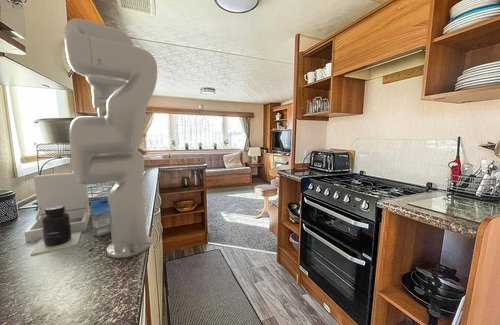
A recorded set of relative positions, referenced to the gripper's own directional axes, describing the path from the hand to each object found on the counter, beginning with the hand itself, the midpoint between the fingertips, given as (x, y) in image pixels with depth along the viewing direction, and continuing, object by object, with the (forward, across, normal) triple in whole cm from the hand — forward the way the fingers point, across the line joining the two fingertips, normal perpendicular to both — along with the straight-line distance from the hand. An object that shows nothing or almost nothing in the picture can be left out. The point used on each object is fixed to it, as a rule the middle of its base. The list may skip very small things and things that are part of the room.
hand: (108, 147), depth 87 cm
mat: (+30, -14, +16) cm, 37 cm away
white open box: (+30, +1, +18) cm, 35 cm away
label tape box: (+31, -13, +2) cm, 33 cm away
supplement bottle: (+30, -14, +16) cm, 37 cm away
